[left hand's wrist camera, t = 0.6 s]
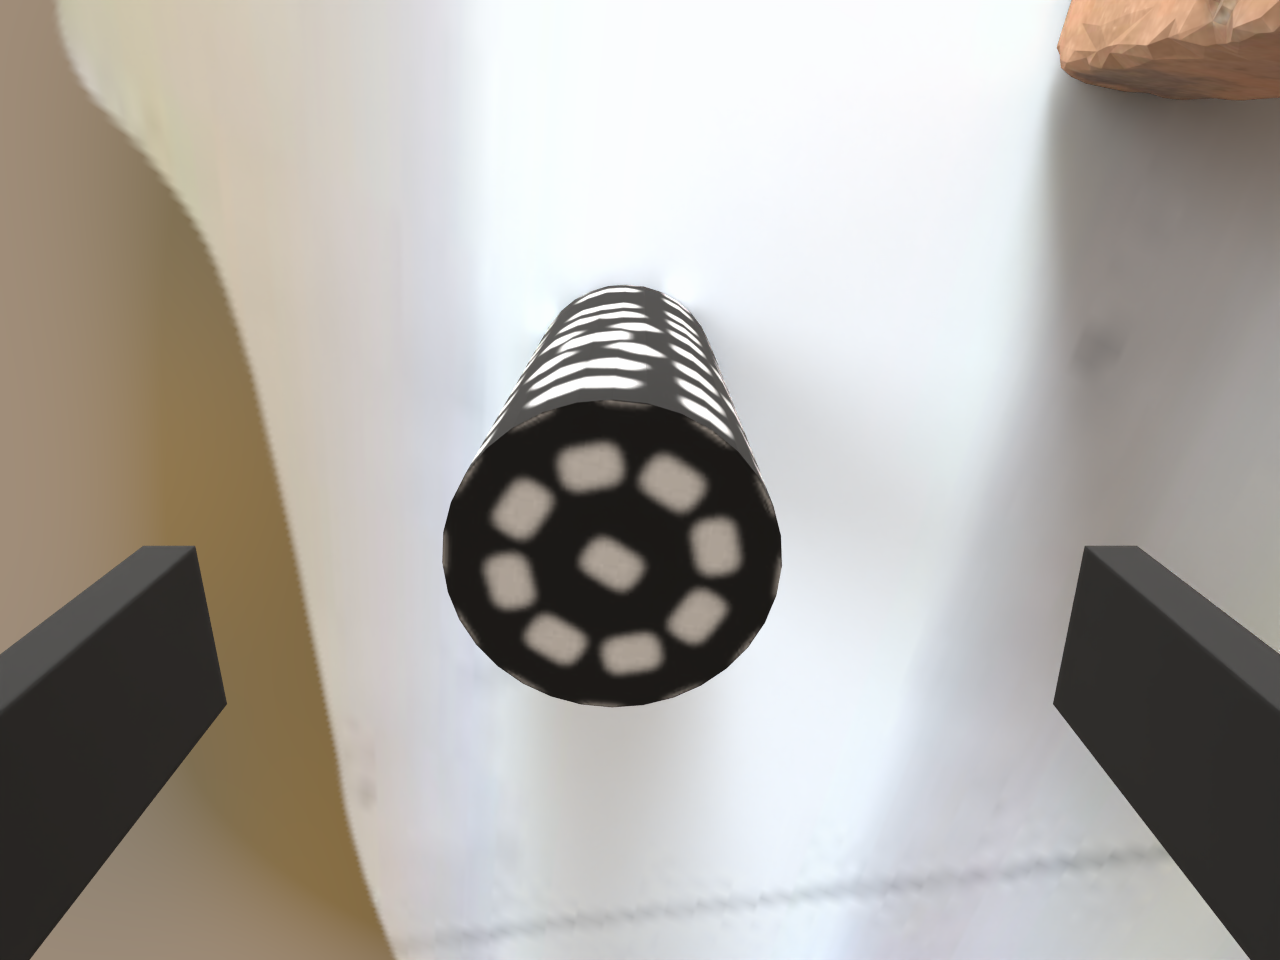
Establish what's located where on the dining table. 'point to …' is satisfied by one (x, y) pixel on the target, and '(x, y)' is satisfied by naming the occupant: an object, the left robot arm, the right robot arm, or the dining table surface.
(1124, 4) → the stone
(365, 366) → the dining table surface
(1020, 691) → the dining table surface
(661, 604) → the black white spotted cylinder
